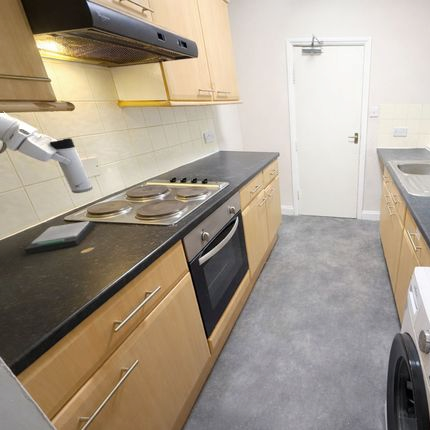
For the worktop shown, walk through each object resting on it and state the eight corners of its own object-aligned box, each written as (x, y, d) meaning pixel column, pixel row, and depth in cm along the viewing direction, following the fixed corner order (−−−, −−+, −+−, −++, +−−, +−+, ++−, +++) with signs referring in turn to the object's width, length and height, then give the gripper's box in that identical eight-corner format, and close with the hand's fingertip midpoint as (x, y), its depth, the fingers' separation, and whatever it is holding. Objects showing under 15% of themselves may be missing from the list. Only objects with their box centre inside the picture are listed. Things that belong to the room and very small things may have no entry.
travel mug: (82, 193, 101) (59, 140, 92) (68, 193, 102) (43, 139, 93) (97, 188, 106) (76, 137, 97) (83, 187, 107) (61, 136, 98)
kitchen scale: (27, 254, 89) (23, 247, 88) (51, 232, 102) (48, 226, 101) (77, 245, 93) (74, 238, 92) (94, 225, 107) (92, 219, 106)
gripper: (28, 139, 98) (73, 161, 107) (5, 149, 82) (60, 174, 91) (38, 125, 98) (82, 149, 107) (17, 132, 83) (71, 159, 91)
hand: (72, 160), depth 99 cm, fingers closed on travel mug, 6 cm apart
